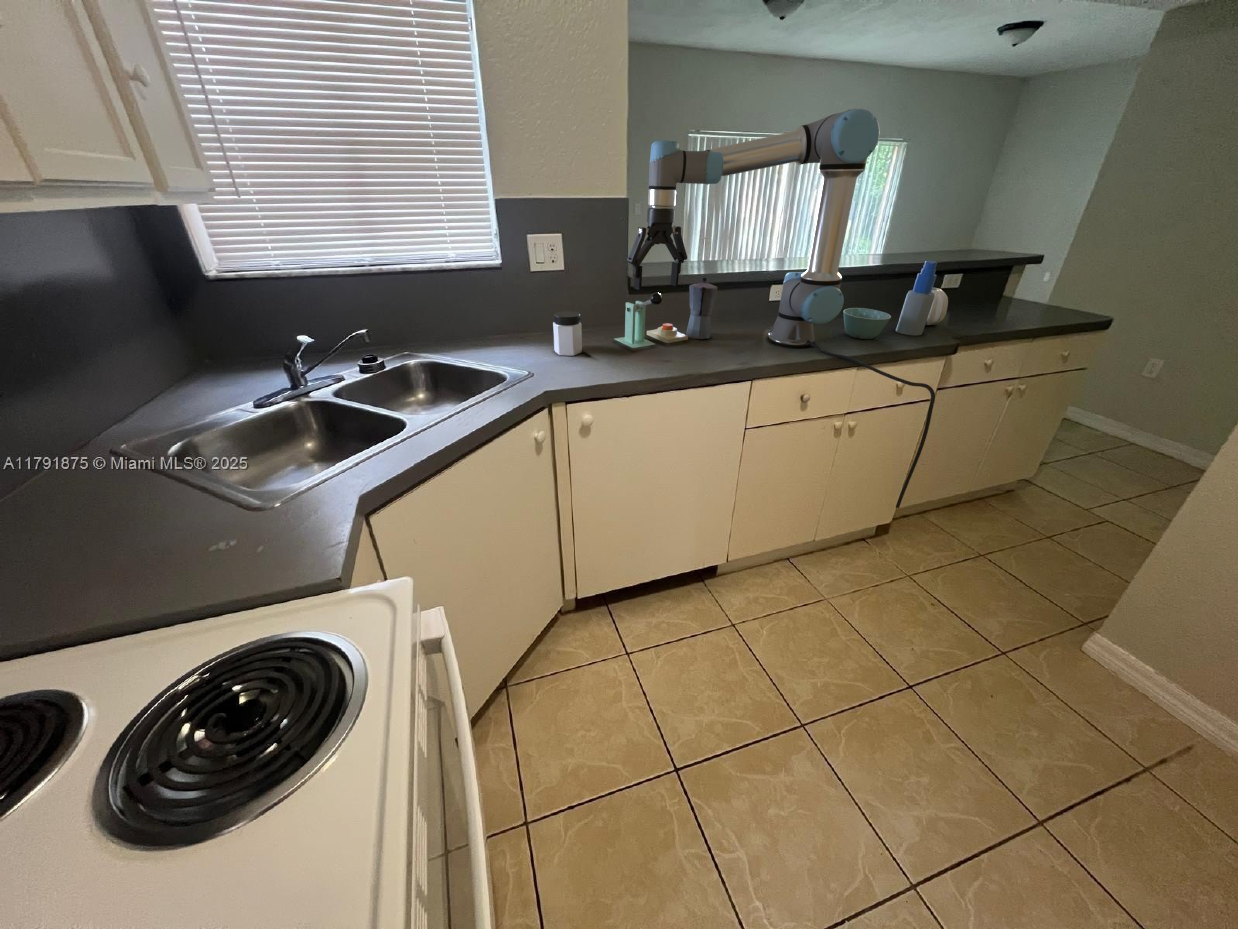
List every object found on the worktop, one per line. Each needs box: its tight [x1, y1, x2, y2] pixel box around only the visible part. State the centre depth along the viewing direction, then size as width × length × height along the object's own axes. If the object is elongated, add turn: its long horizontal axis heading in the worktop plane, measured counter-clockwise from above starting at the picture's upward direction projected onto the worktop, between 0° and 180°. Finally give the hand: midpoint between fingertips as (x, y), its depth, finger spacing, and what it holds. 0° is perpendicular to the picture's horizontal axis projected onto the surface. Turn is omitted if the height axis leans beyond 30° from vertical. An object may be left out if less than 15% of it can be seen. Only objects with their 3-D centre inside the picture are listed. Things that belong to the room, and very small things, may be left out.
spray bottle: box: [895, 260, 938, 336], centre depth 177 cm, size 9×9×25 cm
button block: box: [646, 326, 689, 344], centre depth 168 cm, size 12×9×4 cm
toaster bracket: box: [614, 300, 656, 349], centre depth 160 cm, size 12×9×14 cm
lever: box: [634, 292, 663, 313], centre depth 152 cm, size 15×4×4 cm, turn 32°
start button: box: [661, 322, 674, 330], centre depth 167 cm, size 4×4×2 cm
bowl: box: [843, 307, 892, 340], centre depth 176 cm, size 16×16×8 cm
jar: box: [552, 310, 583, 357], centre depth 153 cm, size 9×8×12 cm
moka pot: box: [685, 277, 718, 340], centre depth 168 cm, size 10×15×20 cm, turn 174°
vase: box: [925, 287, 949, 326], centre depth 192 cm, size 14×14×13 cm
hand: (656, 287), depth 146 cm, fingers open, 13 cm apart
